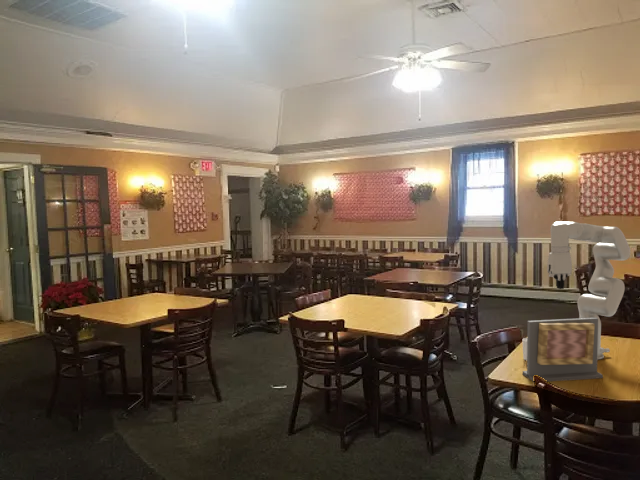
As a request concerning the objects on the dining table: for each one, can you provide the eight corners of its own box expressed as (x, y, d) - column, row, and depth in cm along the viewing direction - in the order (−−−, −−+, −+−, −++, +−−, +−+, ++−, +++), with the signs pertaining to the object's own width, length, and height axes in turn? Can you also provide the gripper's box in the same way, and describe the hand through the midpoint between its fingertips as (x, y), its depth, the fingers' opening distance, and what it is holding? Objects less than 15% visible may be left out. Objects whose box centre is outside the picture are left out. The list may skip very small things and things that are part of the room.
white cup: (541, 362, 242) (541, 342, 241) (523, 361, 244) (524, 341, 243) (537, 357, 250) (537, 337, 249) (520, 356, 251) (520, 337, 250)
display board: (588, 370, 229) (589, 315, 227) (602, 378, 219) (603, 320, 217) (522, 374, 227) (523, 318, 224) (533, 382, 217) (534, 324, 215)
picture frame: (588, 361, 222) (590, 322, 220) (592, 363, 219) (594, 324, 217) (537, 362, 220) (539, 323, 218) (540, 364, 217) (542, 324, 215)
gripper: (569, 247, 235) (570, 285, 237) (540, 250, 234) (540, 288, 236) (579, 249, 228) (580, 288, 230) (549, 252, 226) (549, 291, 228)
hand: (560, 288), depth 233 cm, fingers closed
